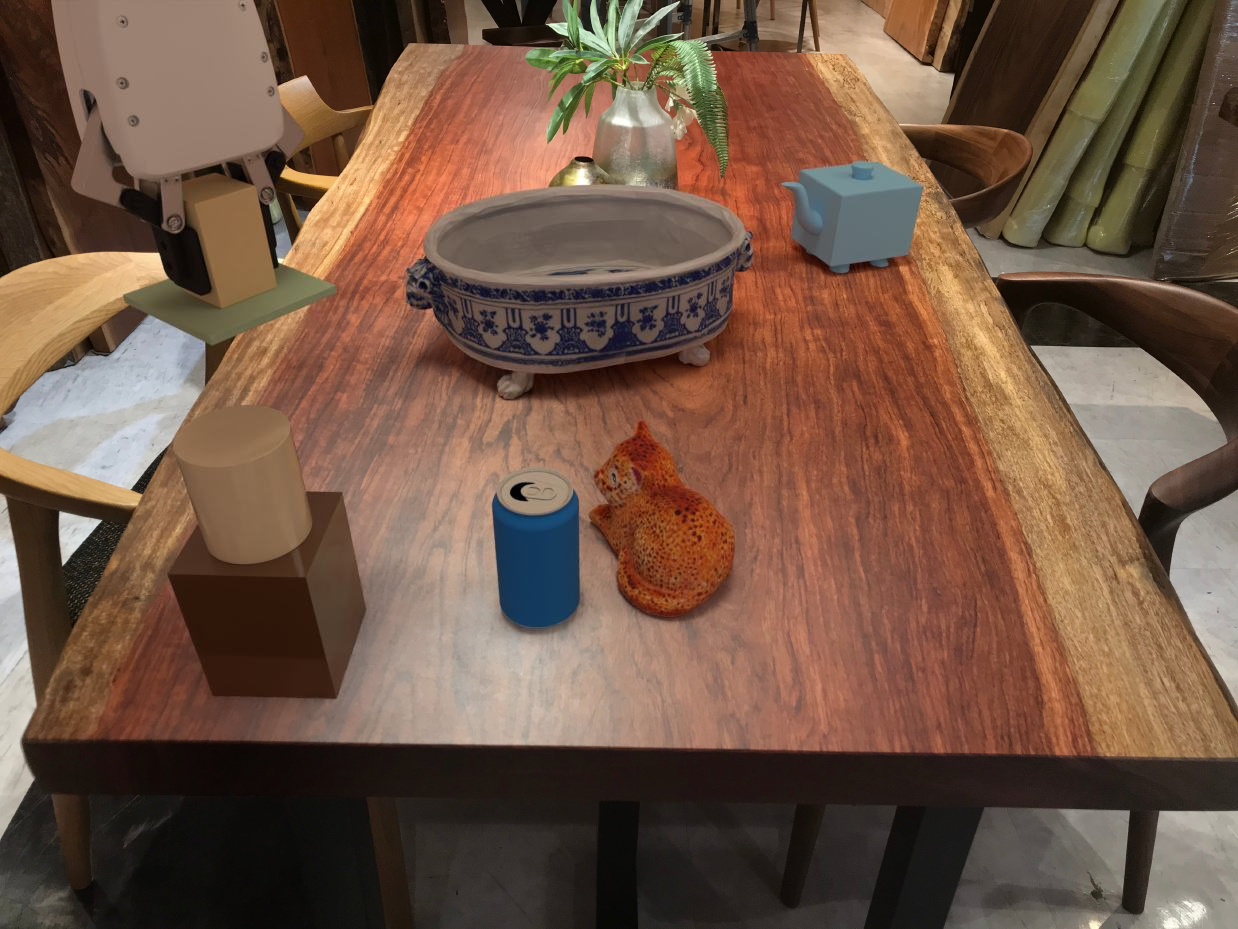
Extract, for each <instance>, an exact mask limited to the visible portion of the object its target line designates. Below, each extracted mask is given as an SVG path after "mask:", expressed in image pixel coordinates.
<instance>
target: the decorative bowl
mask: <svg viewBox="0 0 1238 929" xmlns="http://www.w3.org/2000/svg"><path fill="white" fill-rule="evenodd" d="M753 238H754V232H753V231H746V227H745V224H744V222H743V221H742V220H741V219H740V217H739V216H738V215H737V214H736V213H735V212H733V211H732V210H731V209H730V208H728V207H727V206H725V205H722V204H721V203H718V202H717V201H714V200H713V199H712V200H711V199H709V198H706V197H702V196H699V195H697V194H695V193H694V194H693V193H690V192H685V191H679V190H675V189H670V188H664V187H655V186H648V185H636V184H635V185H631V184H613V183H612V184H610V183H609V184H574V185H573V184H572V185H560V186H559V185H558V186H549V187H548V186H547V187H539V188H533V189H524V190H517V191H514V192H506V193H502V194H497V195H491V196H487V197H484V198H480V199H477V200H474V201H471V202H467V203H465V204H462V205H459V206H457V207H456V208H454V209H452V210H449V211H448V212H446V213H444V214H443V215H441V216H440V217H439V218H437V219H436V220H435V221H434V222H433V223H432V224H431V226H430V227H429V228H428V230H427V232H426V234H425V237H424V239H423V243H422V245H423V249H422V250H423V253H424V256H423V258H418V259H417V260H416V261H415V262H414V263H413V264H412V266H410V267H407V268H406V269H405V273H406V275H407V276H408V278H407V279H406V280H405V281H404V286H405V299H404V302H405V303H406V304H408V305H409V306H410V307H411V308H412V309H415V310H420V311H427V310H431V309H432V312H433V315H434V317H435V319H436V320H437V322H438V323H439V325H441V327H442V328H443V330H444V332H445V334H446V336H447V337H448V339H449V341H451V343H452V344H453V345H454V346H455V347H457V348H458V349H459V350H460V351H461V352H463V353H465V354H466V355H467V356H468V357H470V358H472V359H475V360H477V361H478V362H481V363H484V364H485V365H487V366H491V367H494V368H498V369H502V370H507V371H512V372H509V373H507V374H504V375H503V376H501V377H500V379H498V380H497V385H496V389H497V393H498V396H500V397H502V398H503V399H504V400H513V399H516V398H518V397H521V396H522V395H523V394H524V393H527V392H529V391H530V390H531V389H532V388H533V387H534V382H535V374H548V375H551V374H565V373H575V372H580V371H588V370H593V369H595V370H596V369H599V368H605V367H610V366H616V365H622V364H627V363H632V362H634V363H635V362H640V361H645V360H652V359H657V358H662V357H666V356H669V355H673V354H676V353H678V354H677V357H678V360H679V361H680V362H681V363H683V364H684V365H686V364H692V365H693V366H697V367H703V366H705V365H708V364H709V360H710V357H711V351H710V350H709V349H707V348H706V347H705V345H704V343H707V342H709V341H711V340H713V339H714V338H715V337H717V336H718V335H719V334H721V333H722V332H724V330H725V329H726V327H727V325H728V322H729V319H730V317H731V314H732V311H733V308H734V307H733V306H734V299H733V298H734V297H733V296H734V283H735V276H736V273H744V272H746V271H748V270H750V268H751V266H752V264H753V262H754V258H753V255H754V253H755V249H754V248H753V247H752V244H751V239H753Z"/></svg>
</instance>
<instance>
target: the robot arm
mask: <svg viewBox="0 0 1238 929" xmlns="http://www.w3.org/2000/svg"><path fill="white" fill-rule="evenodd" d="M51 9H52V18H53V23H54V30H55V36H56V42H57V49H58V53H59V59H60V63H61V68H62V73H63V77H64V81H65V85H66V90H67V94H68V98H69V103H70V106H71V111H72V115H73V118H74V121H75V122H74V123H75V125H76V130H77V132H78V136H79V138H80V141H81V144H80V148H79V152H78V154H77V158H76V163H75V165H74V168H73V173H72V177H71V179H70V186H71V189H72V190H73V191H74V192H75V193H78V194H79V195H82V196H85V197H87V198H89V199H93V200H96V201H99V202H102V203H104V204H108V205H111V206H115V207H117V208H120V209H122V210H123V211H125V212H127V213H129V214H131V215H132V216H134V217H136V218H138V219H139V220H140V221H142V222H144V223H145V224H148V225H150V228H151V231H152V234H153V237H154V241H155V245H156V247H157V252H158V255H159V258H160V261H161V265H162V269H163V271H164V273H165V275H166V277H167V279H170V280H172V281H173V282H174V283H175V284H176V285H177V286H180V287H182V288H184V289H186V290H188V291H191V292H193V293H195V294H197V295H200V296H203V295H206V294H209V293H210V292H211V289H212V287H211V283H210V279H209V275H208V272H207V268H206V264H205V260H204V256H203V252H202V249H201V245H200V241H199V237H198V234H197V232H196V231H195V230H194V229H192V228H189V227H187V226H186V222H185V215H184V203H183V191H182V182H183V180H182V179H183V178H182V175H183V174H187V173H191V172H194V171H198V170H203V169H206V168H209V167H213V166H214V167H215V166H218V165H221V166H222V169H223V171H224V173H225V176H227V177H230V178H233V179H236V180H239V181H241V182H244V183H247V184H250V185H253V186H256V190H257V194H258V199H259V204H260V208H261V213H262V217H263V222H264V227H265V231H266V236H267V241H268V245H269V250H270V255H271V259H272V264H273V268H274V269H276V268H278V267H279V263H280V262H279V258H278V254H277V249H276V248H278V247H277V246H278V241H277V237H276V232H275V227H274V222H273V218H272V214H271V212H272V211H271V208H270V205H272V204H273V203H274V202H275V200H276V198H277V191H276V188H275V187H276V186H277V184H278V182H279V180H280V178H281V176H282V174H283V172H284V171H285V168H286V165H287V160H289V159H290V158H291V157H292V156H293V154H294V153H295V152H296V151H297V149H298V148H299V147H300V146H301V144H302V143H303V141H304V140H305V131H304V129H303V128H302V127H301V125H300V124H299V123H298V122H297V121H296V119H295V118H294V117H293V115H292V114H291V113H290V112H289V110H287V108H286V107H285V105H284V104H283V102H282V100H281V95H280V91H279V87H278V82H277V77H276V72H275V68H274V65H273V60H272V57H271V53H270V51H269V50H270V49H269V45H268V42H267V39H266V36H265V31H264V28H263V26H262V22H261V19H260V16H259V13H258V10H257V7H256V4H255V1H254V0H51ZM122 166H123V167H124V168H125V171H126V172H127V173H128V174H129V175H130V176H131V177H133V187H131V186H128V185H126V184H122V183H120V182H118V181H116V180H115V179H114V176H113V170H114V167H122Z"/></svg>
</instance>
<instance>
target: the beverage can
mask: <svg viewBox="0 0 1238 929" xmlns="http://www.w3.org/2000/svg"><path fill="white" fill-rule="evenodd" d="M491 513H492V514H491V515H492V524H493V525H492V526H493V537H494V550H495V564H496V574H497V575H496V576H497V587H498V599H499V601H498V602H499V606H500V609H501V611H502V613H503V615H504V616H505V617H506V618H507V619H508V620H510V621H511V622H513V623H515V624H516V625H519V626H521V627H524V628H530V629H544V628H550V627H554V626H557V625H559V624H562V623H564V622H566V621H567V620H568V619H570V618H571V617H572V616H573V615H574V614H575V612H576V611H577V609H578V608H579V604H580V600H581V594H580V593H581V592H580V590H581V586H580V583H581V582H580V574H581V573H580V572H581V570H580V500H579V496H578V494H577V491H576V490H575V489H574V485H573V482H572V481H571V479H570V478H569V477H568V476H567V475H566V474H565V473H563V472H561V471H559V470H557V469H554V468H551V467H545V466H529V467H523V468H520V469H519V468H518V469H516V470H513V471H512V472H509V473H508V474H506V475H505V476H503V478H501V480H500V481H499V482H498V484H497V487H496V492H495V493H494V495H493V498H492V502H491Z"/></svg>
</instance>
